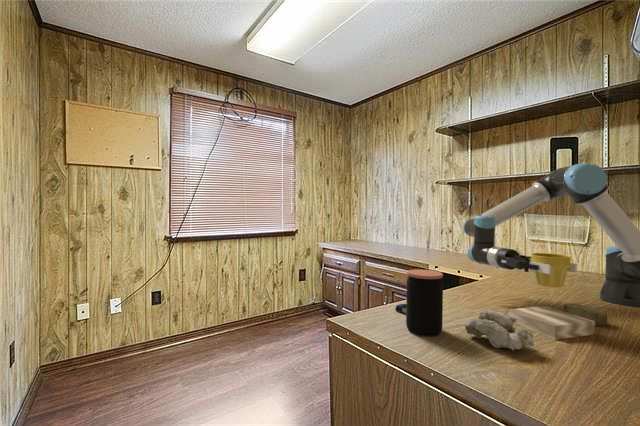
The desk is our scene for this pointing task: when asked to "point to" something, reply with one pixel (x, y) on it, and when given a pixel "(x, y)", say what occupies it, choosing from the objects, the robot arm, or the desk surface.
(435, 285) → the coffee jar
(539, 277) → the plant pot
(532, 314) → the birch block
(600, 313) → the stone block
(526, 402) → the desk surface
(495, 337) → the mineral
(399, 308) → the race car
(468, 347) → the desk surface
